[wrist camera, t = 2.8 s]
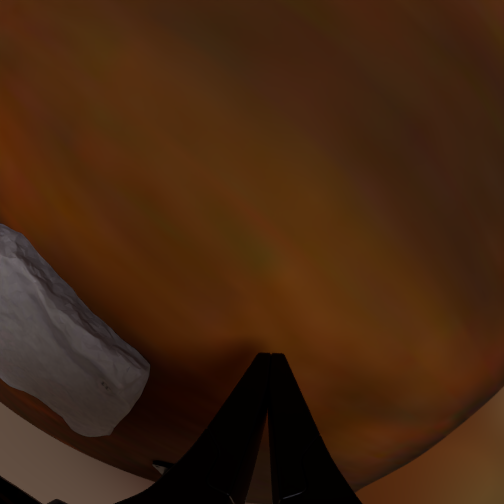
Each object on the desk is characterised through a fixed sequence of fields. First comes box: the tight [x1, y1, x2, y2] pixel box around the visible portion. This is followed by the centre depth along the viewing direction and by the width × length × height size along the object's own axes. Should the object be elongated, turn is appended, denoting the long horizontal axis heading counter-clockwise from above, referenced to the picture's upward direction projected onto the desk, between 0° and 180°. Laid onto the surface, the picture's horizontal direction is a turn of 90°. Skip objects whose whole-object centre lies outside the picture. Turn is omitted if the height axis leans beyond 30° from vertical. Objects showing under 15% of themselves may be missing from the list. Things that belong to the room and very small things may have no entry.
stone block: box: [0, 223, 150, 437], centre depth 11 cm, size 12×5×10 cm
